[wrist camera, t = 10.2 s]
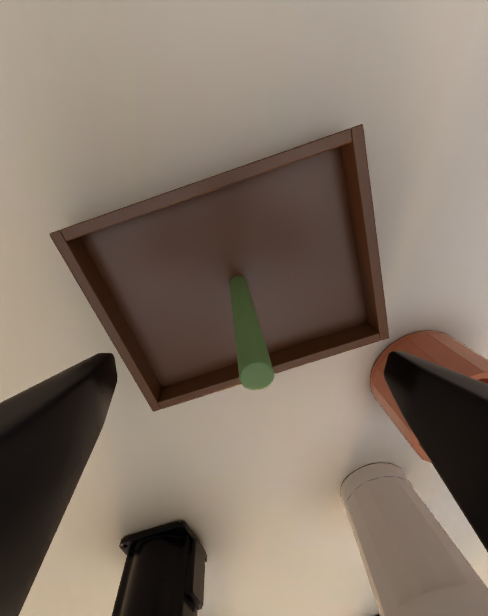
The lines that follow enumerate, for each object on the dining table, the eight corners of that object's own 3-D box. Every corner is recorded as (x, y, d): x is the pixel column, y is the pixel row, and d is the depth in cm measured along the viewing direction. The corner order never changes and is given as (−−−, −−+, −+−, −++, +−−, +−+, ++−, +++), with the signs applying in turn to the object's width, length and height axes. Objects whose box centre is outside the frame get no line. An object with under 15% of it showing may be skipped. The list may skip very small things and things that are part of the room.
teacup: (375, 419, 23) (415, 478, 19) (363, 348, 21) (407, 395, 16) (461, 393, 23) (525, 446, 18) (461, 317, 20) (536, 356, 15)
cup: (357, 448, 25) (471, 659, 14) (430, 465, 26) (583, 665, 15) (317, 507, 27) (384, 723, 16) (385, 519, 29) (488, 722, 18)
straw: (232, 294, 18) (245, 395, 9) (227, 278, 17) (234, 368, 9) (249, 289, 18) (278, 385, 9) (244, 273, 17) (269, 357, 8)
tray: (159, 391, 21) (152, 412, 19) (69, 228, 16) (48, 233, 14) (373, 323, 20) (389, 338, 18) (345, 132, 15) (363, 123, 13)
